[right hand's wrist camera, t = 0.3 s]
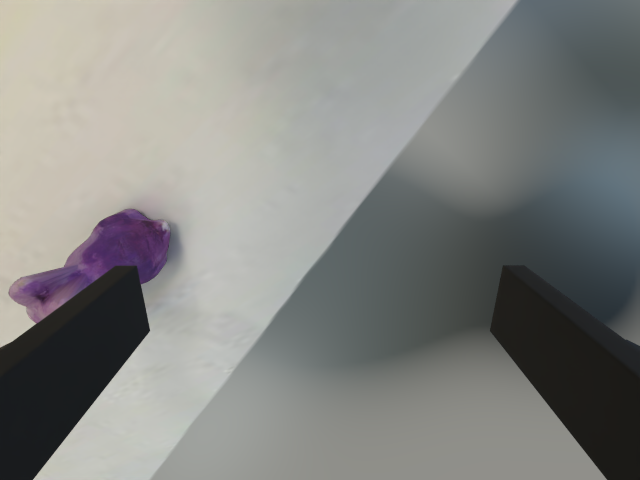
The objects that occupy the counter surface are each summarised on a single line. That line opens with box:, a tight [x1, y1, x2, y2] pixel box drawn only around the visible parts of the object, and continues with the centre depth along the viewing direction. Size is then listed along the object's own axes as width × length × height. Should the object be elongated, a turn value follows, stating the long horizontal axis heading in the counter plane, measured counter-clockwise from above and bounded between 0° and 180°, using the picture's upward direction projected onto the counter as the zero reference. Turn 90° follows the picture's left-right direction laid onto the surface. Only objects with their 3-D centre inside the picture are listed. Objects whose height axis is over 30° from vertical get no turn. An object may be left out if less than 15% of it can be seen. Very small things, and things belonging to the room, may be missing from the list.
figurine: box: [9, 209, 170, 323], centre depth 34 cm, size 9×10×15 cm
